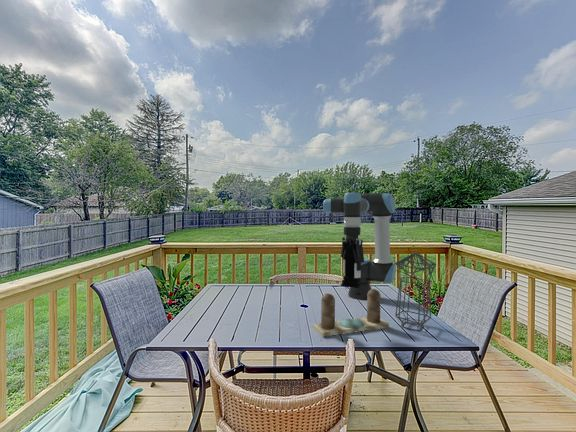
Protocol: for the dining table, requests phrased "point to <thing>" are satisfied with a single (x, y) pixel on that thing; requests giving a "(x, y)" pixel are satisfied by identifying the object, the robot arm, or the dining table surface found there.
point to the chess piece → (350, 267)
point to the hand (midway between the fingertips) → (351, 275)
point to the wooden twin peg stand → (349, 325)
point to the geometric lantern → (419, 288)
